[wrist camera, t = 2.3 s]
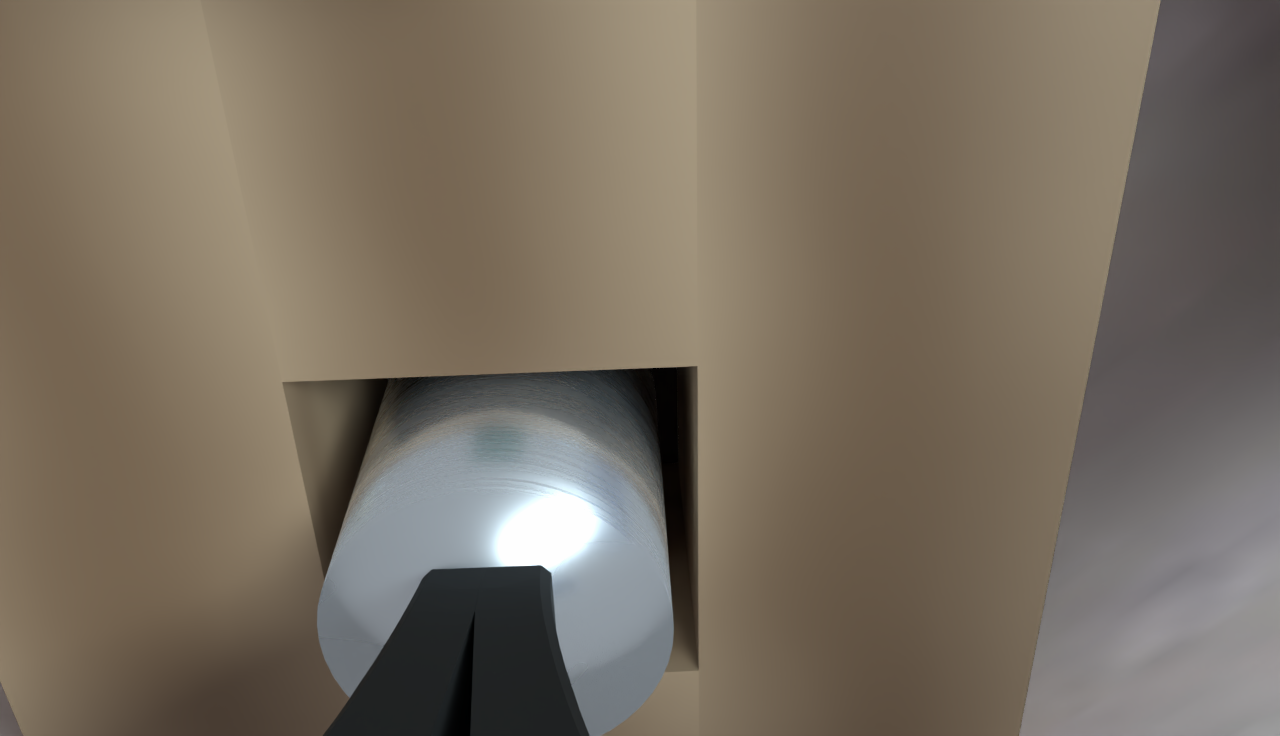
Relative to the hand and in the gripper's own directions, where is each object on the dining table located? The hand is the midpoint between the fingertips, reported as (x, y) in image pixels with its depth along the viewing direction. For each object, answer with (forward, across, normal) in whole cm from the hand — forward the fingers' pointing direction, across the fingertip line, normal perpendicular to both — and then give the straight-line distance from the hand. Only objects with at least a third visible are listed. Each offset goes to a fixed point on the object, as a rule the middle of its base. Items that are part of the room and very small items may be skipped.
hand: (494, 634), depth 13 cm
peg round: (+5, 0, 0) cm, 5 cm away
